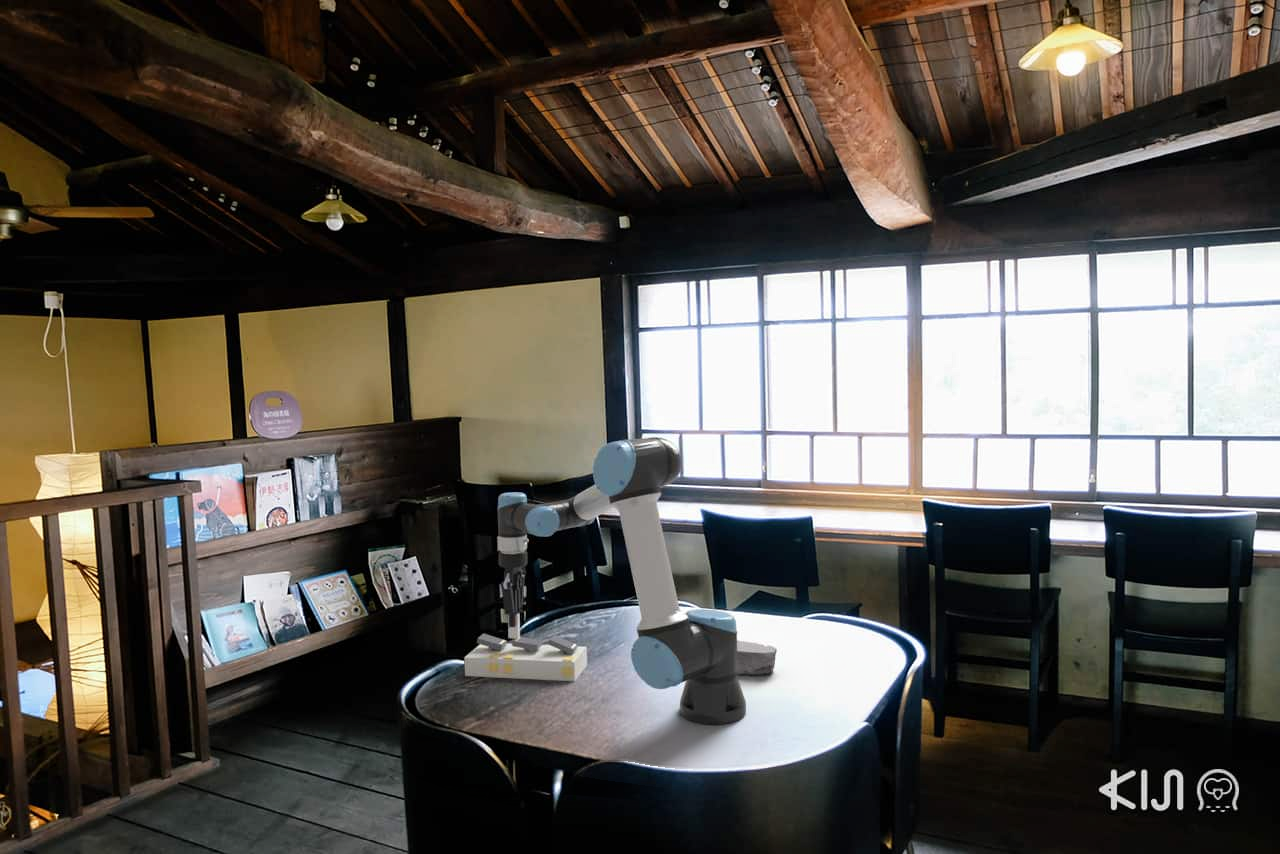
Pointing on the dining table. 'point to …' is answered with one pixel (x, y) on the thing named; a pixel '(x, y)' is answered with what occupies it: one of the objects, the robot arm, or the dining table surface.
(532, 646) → the rocker middle
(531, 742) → the dining table surface
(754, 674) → the decorative stone
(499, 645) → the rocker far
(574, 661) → the switch console
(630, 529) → the robot arm
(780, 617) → the dining table surface
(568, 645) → the rocker near
